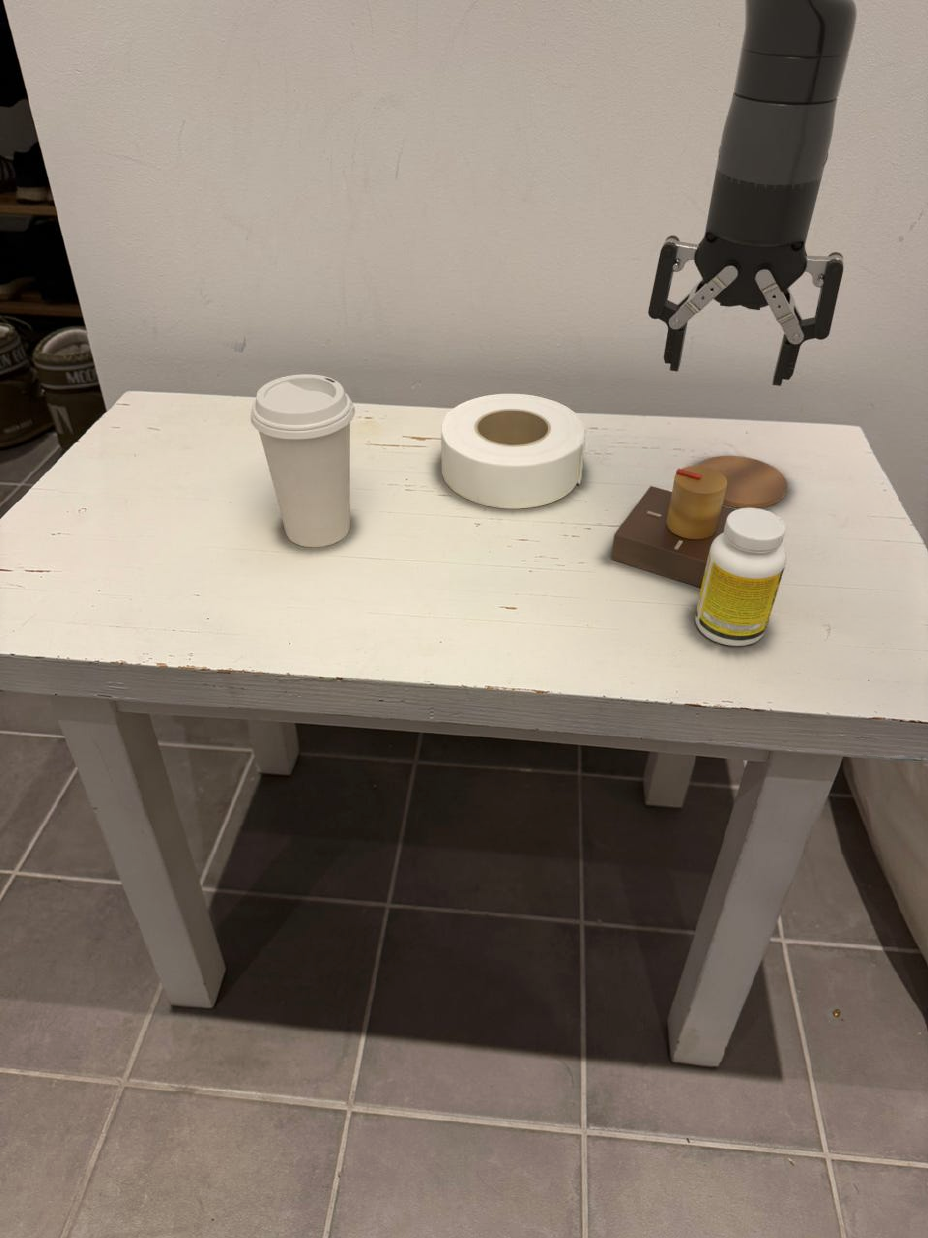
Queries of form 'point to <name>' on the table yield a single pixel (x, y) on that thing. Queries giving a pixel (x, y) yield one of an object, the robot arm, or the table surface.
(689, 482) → the knob
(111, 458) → the table surface
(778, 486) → the coaster
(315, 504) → the coffee cup
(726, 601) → the pill bottle
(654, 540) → the panel
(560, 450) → the tape roll
